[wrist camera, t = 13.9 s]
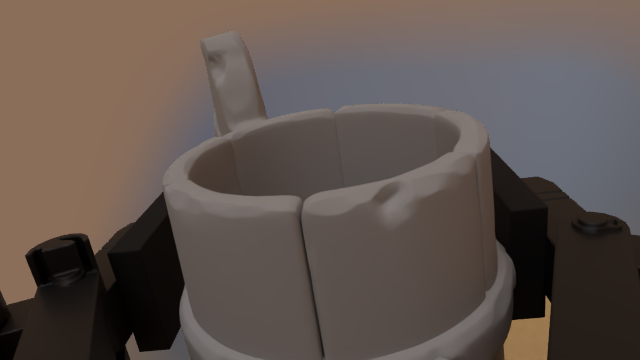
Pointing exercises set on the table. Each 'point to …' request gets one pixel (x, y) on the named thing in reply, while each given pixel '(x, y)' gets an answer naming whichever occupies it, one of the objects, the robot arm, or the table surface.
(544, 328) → the table surface
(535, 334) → the table surface
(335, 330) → the mug
